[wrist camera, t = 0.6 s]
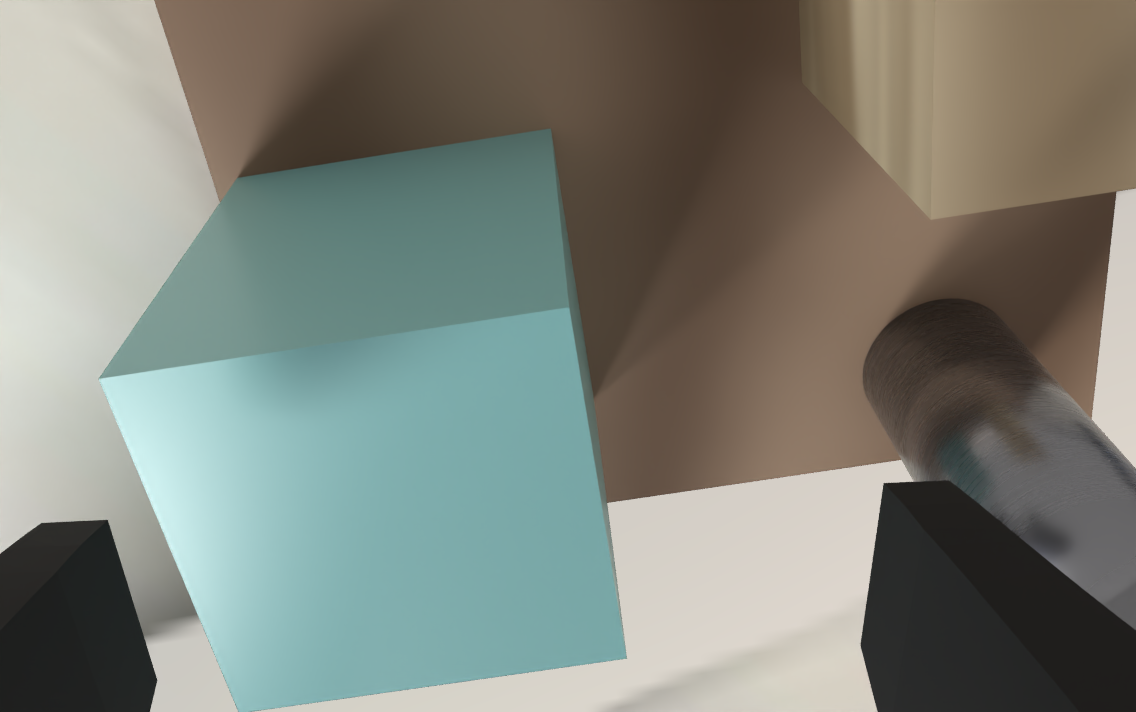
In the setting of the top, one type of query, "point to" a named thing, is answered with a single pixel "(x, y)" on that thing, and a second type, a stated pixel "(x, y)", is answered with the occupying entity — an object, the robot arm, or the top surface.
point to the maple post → (981, 95)
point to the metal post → (1007, 441)
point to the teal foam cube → (378, 427)
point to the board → (661, 205)
